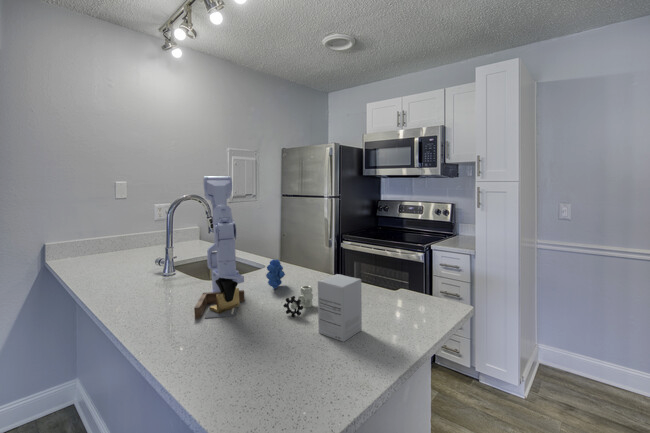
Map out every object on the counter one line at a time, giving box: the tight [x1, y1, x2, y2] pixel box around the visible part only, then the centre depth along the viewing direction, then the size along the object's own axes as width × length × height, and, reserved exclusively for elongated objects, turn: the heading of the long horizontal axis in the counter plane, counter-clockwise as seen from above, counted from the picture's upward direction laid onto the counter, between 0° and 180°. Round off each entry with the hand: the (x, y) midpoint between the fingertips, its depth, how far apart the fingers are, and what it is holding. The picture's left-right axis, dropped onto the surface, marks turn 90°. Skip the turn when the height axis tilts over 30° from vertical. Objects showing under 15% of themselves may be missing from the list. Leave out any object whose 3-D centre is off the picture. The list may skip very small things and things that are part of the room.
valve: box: [282, 285, 314, 318], centre depth 107 cm, size 7×7×12 cm
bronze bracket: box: [209, 287, 240, 313], centre depth 108 cm, size 8×5×6 cm, turn 142°
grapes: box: [265, 258, 286, 289], centre depth 128 cm, size 12×7×12 cm, turn 162°
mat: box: [204, 303, 238, 320], centre depth 107 cm, size 11×9×1 cm
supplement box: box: [317, 273, 363, 343], centre depth 91 cm, size 9×9×15 cm
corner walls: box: [193, 289, 246, 320], centre depth 109 cm, size 14×14×4 cm
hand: (228, 300), depth 107 cm, fingers closed on bronze bracket
